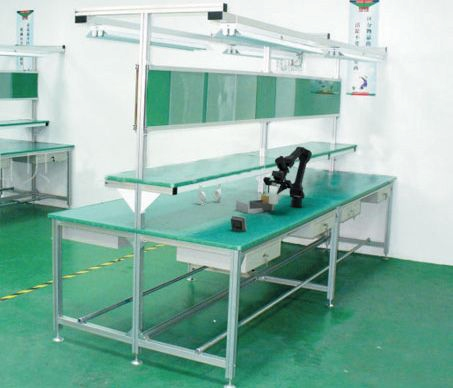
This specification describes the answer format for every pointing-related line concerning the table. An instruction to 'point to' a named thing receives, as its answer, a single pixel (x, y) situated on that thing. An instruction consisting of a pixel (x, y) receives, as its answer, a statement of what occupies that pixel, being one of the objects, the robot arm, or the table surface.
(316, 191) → the table surface
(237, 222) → the electrical switch
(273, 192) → the bottle
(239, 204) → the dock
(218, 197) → the headset
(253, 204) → the grey and tan box
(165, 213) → the table surface
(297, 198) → the robot arm
